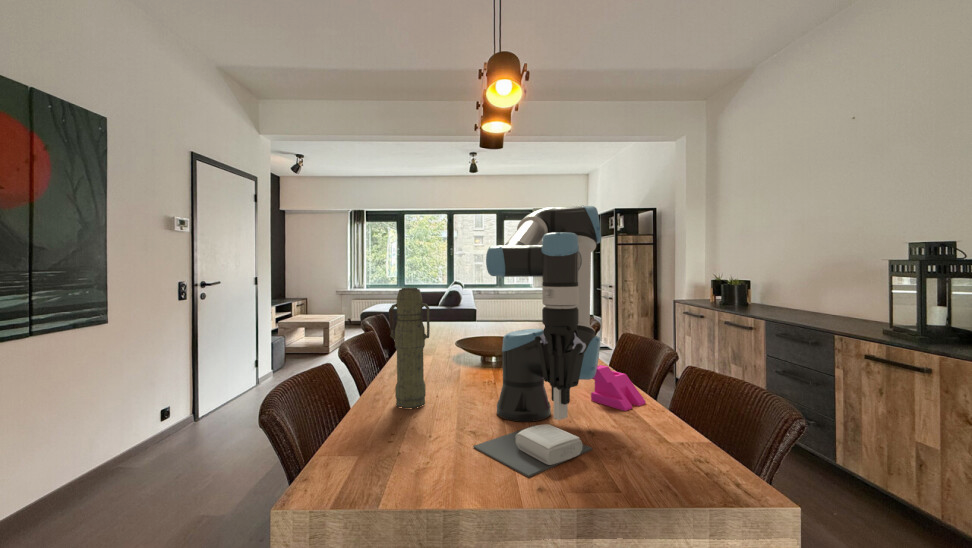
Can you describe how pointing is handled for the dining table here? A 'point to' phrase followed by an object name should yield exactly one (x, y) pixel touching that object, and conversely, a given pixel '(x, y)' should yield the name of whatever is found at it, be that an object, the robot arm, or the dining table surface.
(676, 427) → the dining table surface
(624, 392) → the bracket
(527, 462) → the mat
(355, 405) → the dining table surface
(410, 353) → the thermos
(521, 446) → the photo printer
